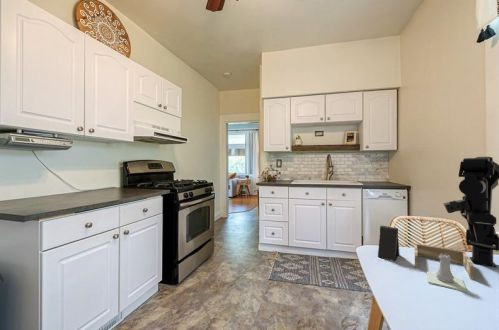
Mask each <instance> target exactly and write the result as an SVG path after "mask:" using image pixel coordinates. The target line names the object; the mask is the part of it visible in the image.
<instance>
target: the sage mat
mask: <svg viewBox="0 0 499 330" xmlns="http://www.w3.org/2000/svg"><path fill="white" fill-rule="evenodd" d="M426 276H427V283H428V284H431V285H435V286H440V287H443V288H444V287H445V288H448V289H452V290H456V291H461V292H465V293H467V292H468V291H467V287H466V285H465V284H464V281H463V279H462V278H460V277H454V279H453V280H454V282H453V283H446V282H442V281H440V280H438V279H437V277H436V276H437V272H432V271H426Z"/></svg>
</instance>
